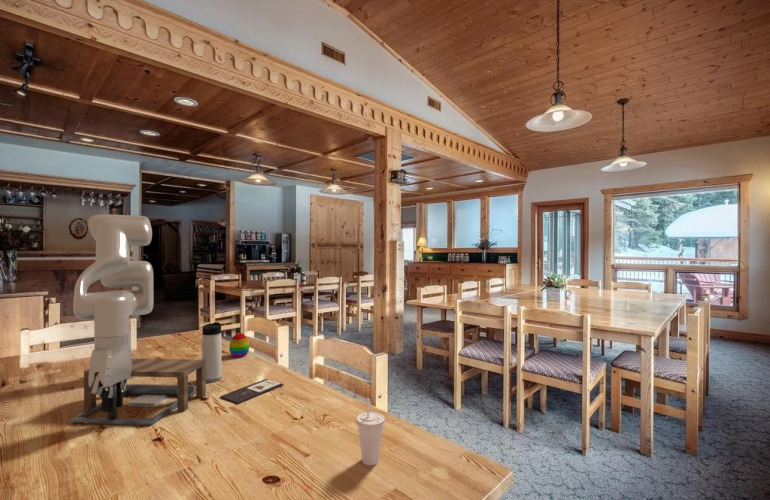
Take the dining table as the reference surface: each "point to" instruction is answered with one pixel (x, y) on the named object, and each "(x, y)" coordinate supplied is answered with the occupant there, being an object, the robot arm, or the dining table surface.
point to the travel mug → (212, 351)
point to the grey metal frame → (134, 390)
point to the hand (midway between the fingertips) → (112, 408)
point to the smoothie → (370, 435)
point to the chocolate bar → (251, 391)
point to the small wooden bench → (162, 369)
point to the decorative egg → (239, 345)
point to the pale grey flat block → (147, 400)
